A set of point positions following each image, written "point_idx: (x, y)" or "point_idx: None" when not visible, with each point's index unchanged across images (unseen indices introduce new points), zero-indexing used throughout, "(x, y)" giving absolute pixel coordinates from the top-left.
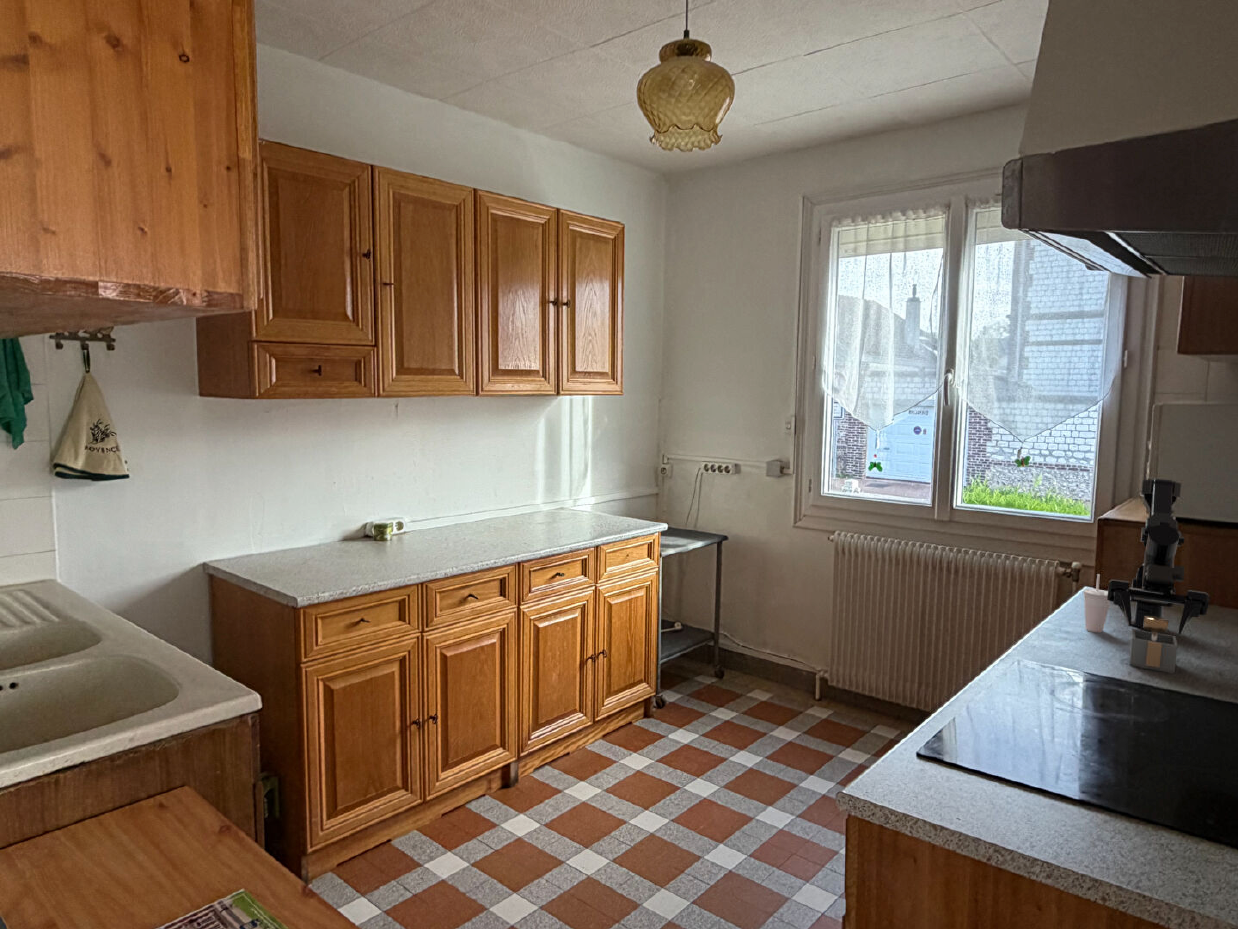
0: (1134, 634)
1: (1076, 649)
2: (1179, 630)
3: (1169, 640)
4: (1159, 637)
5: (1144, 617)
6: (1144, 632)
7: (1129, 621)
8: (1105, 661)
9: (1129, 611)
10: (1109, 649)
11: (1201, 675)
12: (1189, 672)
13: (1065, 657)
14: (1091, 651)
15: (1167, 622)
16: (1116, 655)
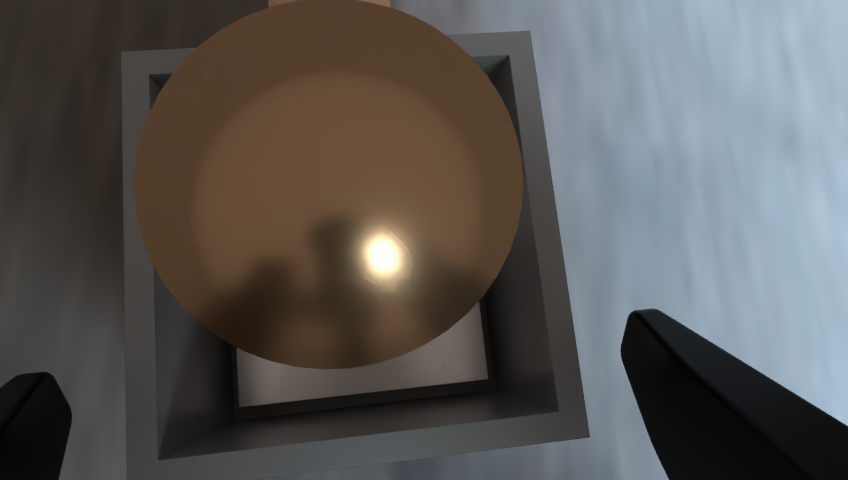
0: (536, 200)
1: (820, 260)
2: (31, 382)
3: (205, 448)
4: (304, 436)
5: (513, 127)
6: (459, 420)
7: (668, 323)
8: (615, 114)
9: (787, 431)
10: (651, 453)
11: (32, 254)
12: (109, 268)
13: (817, 24)
14: (735, 289)
15: (158, 114)
16: (584, 321)
